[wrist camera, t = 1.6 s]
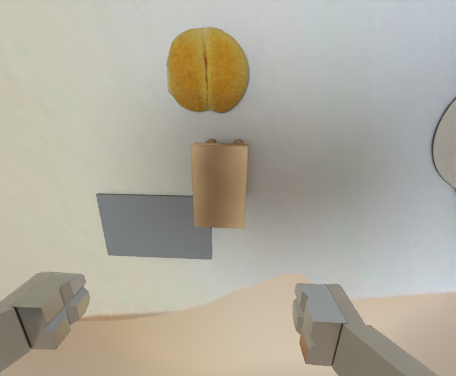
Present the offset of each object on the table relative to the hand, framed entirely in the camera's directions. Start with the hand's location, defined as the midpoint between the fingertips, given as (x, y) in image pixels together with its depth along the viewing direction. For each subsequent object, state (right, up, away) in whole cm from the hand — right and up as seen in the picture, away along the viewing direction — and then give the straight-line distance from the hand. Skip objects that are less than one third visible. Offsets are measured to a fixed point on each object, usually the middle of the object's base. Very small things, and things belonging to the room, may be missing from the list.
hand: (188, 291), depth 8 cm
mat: (-9, -2, +23) cm, 25 cm away
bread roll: (-1, +17, +17) cm, 24 cm away
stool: (+1, +7, +20) cm, 21 cm away
